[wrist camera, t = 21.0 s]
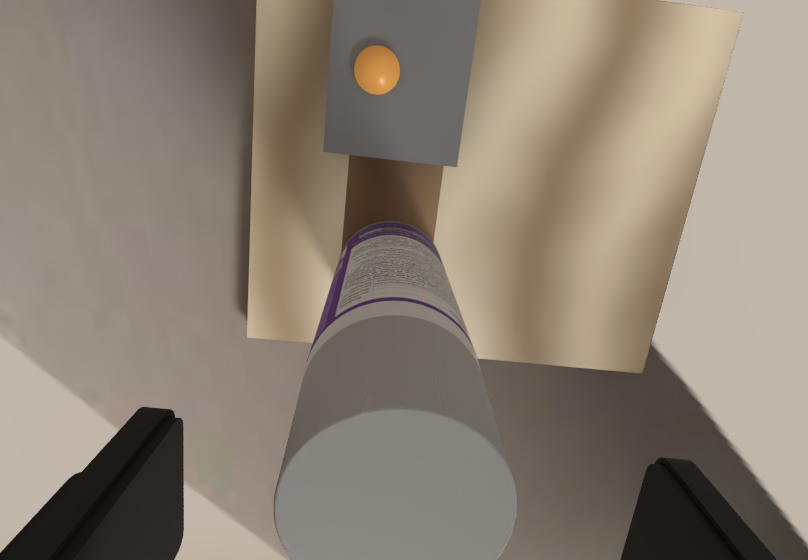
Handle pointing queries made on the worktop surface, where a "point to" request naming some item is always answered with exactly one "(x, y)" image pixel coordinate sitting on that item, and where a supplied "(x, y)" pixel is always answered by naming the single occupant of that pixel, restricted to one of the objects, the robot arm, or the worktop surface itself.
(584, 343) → the board
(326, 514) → the container
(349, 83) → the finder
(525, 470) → the worktop surface
